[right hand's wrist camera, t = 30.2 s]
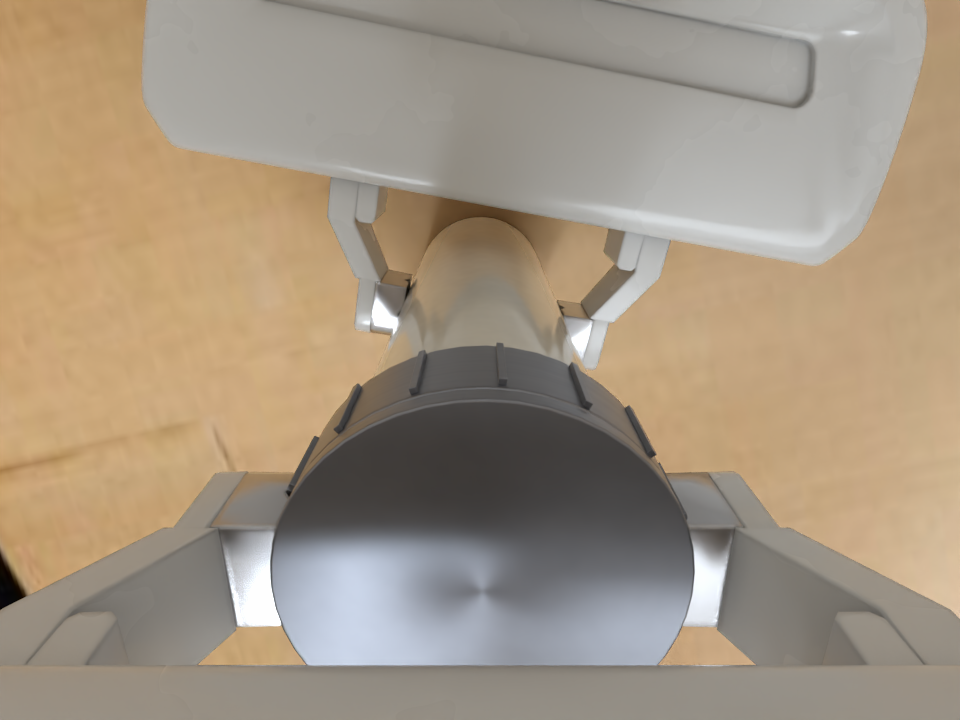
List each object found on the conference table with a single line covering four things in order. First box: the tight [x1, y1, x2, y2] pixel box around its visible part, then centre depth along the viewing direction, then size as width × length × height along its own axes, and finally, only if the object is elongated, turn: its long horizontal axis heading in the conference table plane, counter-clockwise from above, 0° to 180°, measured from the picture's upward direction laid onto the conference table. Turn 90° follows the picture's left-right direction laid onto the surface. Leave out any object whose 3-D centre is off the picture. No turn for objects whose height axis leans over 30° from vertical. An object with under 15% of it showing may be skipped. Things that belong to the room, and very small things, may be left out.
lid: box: [270, 342, 695, 665], centre depth 9 cm, size 6×6×2 cm
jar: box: [373, 217, 588, 378], centre depth 17 cm, size 5×5×17 cm
